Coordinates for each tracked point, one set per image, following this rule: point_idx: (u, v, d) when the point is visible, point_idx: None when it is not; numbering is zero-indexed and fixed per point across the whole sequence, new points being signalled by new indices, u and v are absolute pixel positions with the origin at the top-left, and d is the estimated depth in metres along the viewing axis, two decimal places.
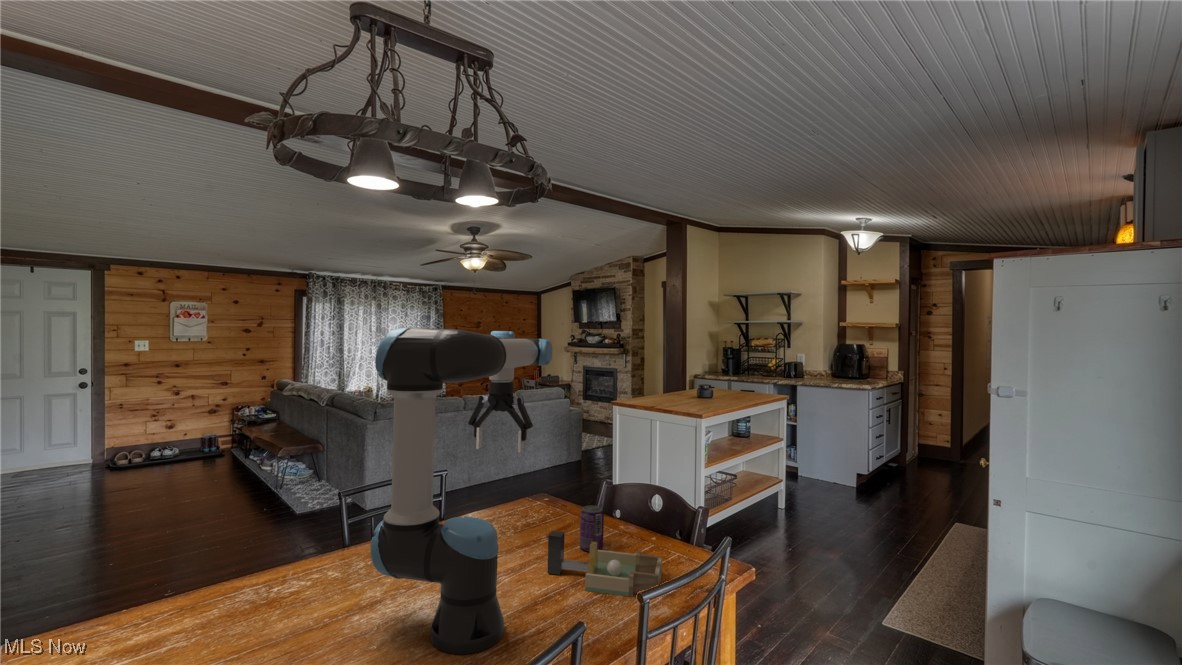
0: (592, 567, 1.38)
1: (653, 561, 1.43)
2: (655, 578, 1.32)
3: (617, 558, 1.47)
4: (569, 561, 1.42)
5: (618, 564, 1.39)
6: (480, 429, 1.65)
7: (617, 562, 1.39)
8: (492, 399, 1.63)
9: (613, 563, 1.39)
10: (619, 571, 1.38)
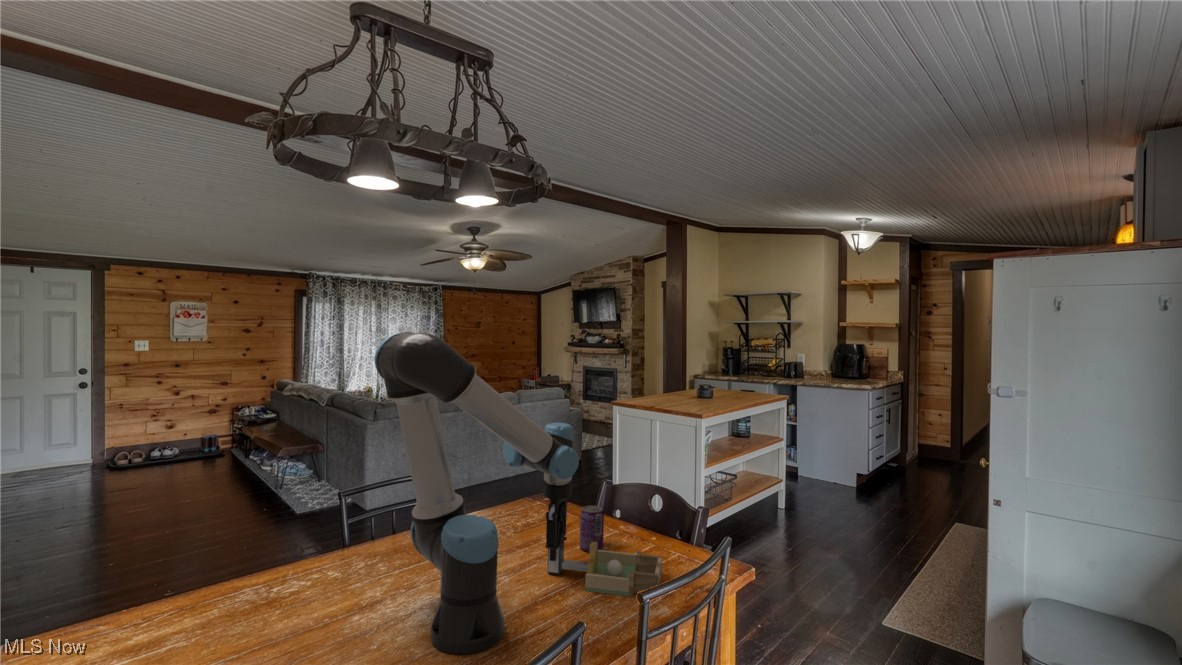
0: (592, 567, 1.38)
1: (653, 561, 1.43)
2: (655, 578, 1.32)
3: (617, 558, 1.47)
4: (569, 561, 1.42)
5: (618, 564, 1.39)
6: None
7: (617, 562, 1.39)
8: None
9: (613, 563, 1.39)
10: (619, 571, 1.38)
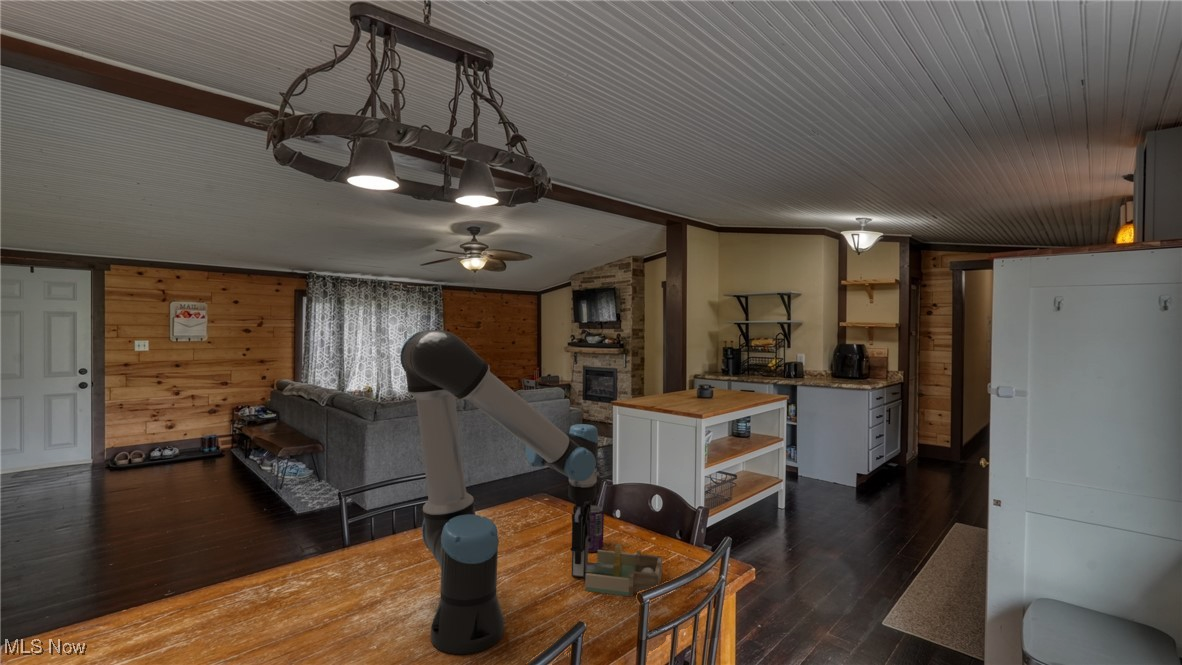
0: (617, 570, 1.37)
1: (653, 561, 1.43)
2: (655, 578, 1.32)
3: None
4: (593, 564, 1.41)
5: None
6: None
7: None
8: None
9: None
10: None
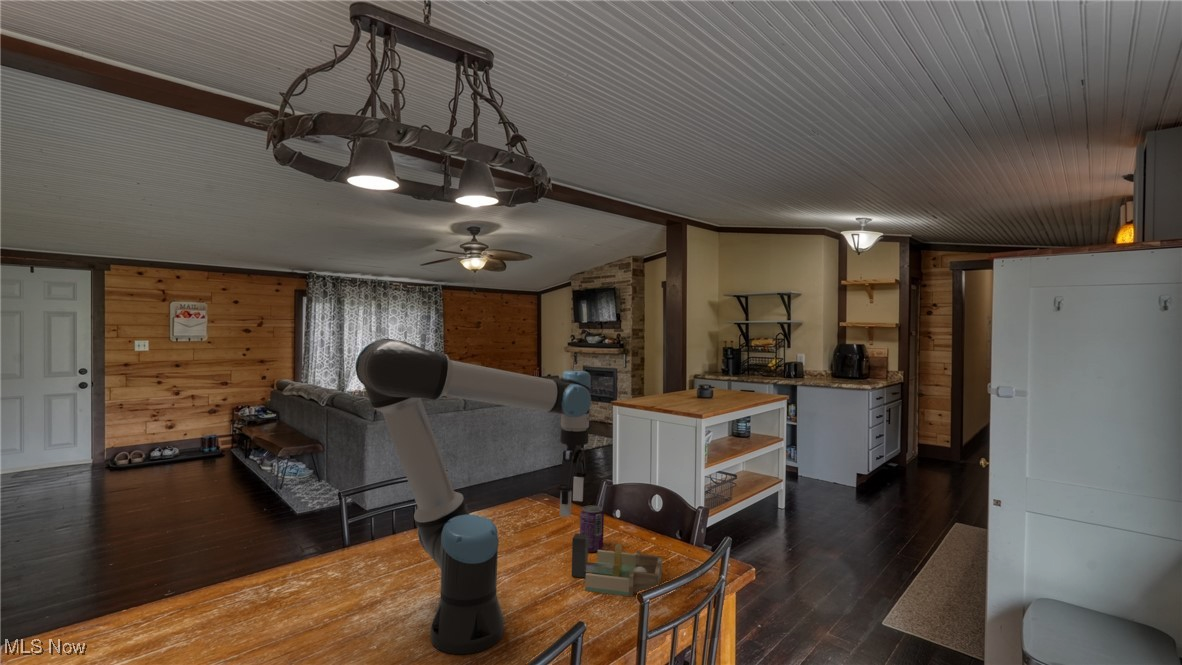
0: (617, 570, 1.37)
1: (653, 561, 1.43)
2: (655, 578, 1.32)
3: None
4: (593, 564, 1.41)
5: None
6: (577, 479, 1.49)
7: None
8: None
9: None
10: None
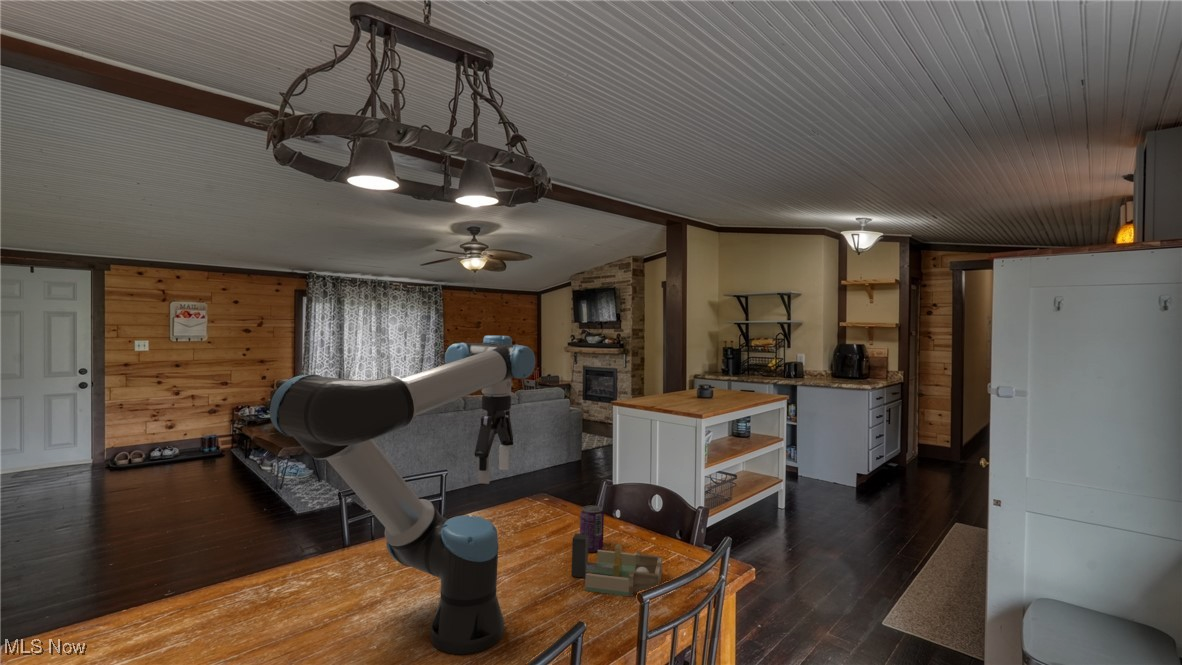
0: (617, 570, 1.37)
1: (653, 561, 1.43)
2: (655, 578, 1.32)
3: None
4: (593, 564, 1.41)
5: None
6: (503, 448, 1.45)
7: None
8: None
9: None
10: None
